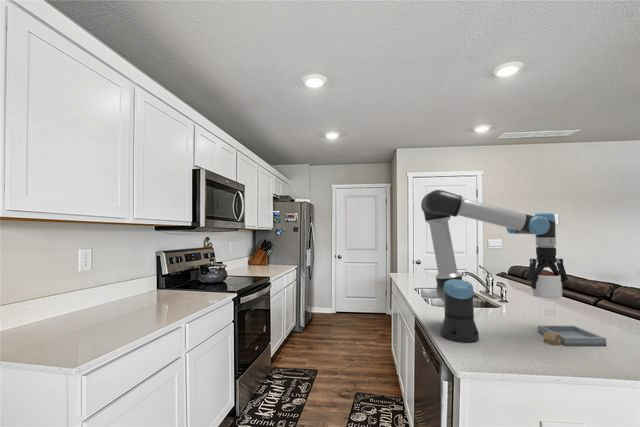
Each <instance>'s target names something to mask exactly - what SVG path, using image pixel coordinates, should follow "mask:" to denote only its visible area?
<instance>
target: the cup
mask: <svg viewBox="0 0 640 427" xmlns="http://www.w3.org/2000/svg"><path fill="white" fill-rule="evenodd" d="M536 282H538V286H539V297H538V298H544V299H553V300H555V299H559V298H561V276H560V275H559V276H555V275H554V274H553V273H550V272H541V274H540V275H538V279H537V281H536Z"/></svg>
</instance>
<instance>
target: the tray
mask: <svg viewBox="0 0 640 427" xmlns="http://www.w3.org/2000/svg"><path fill="white" fill-rule="evenodd" d="M550 331H551V332H554V333H557V334H561V344H560V345H562V346H564V347H607V338H606V337H604V336H601V335H599V334H597V333H594V332H591V331H589V330H587V329H584V328H581V327H579V326H577V325H538V326H537V333H538V332H539V334H540V333H541V335H542V334H543V335H542V336H544V332H550Z"/></svg>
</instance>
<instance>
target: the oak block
mask: <svg viewBox="0 0 640 427" xmlns="http://www.w3.org/2000/svg"><path fill="white" fill-rule="evenodd" d="M545 342H546V343H545ZM543 343H545V344H547V343H548V345H550V344H551V346H553V345H555V346H559V345H562V344H561V334H557V333H554V332H551V331H550V332H544V335H543Z"/></svg>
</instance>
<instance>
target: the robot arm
mask: <svg viewBox="0 0 640 427" xmlns="http://www.w3.org/2000/svg"><path fill="white" fill-rule="evenodd" d="M420 205H421V210H422V212H423V216H424V220H425V222H426V223H427V224H428V226H429V230H430V235H431V240H432V246H433V251H434V257H435V262H436V268H437V269H436V270H437V275H435V280H436V293H437V296H438V297H439V298H440V300H441V301H442V302H443V303H444V304H443V305H444V306H443V307H444V317H443V318H444V319H443V322H442V324H441V327H440V336H442V337H443V338H444V339H446V340H449V341H454V342H459V343H474V342H478V341H479V339H480V333H479V330H478V328H477V324H476V322H475V321H476V320H475V318H474V317H475V316H474V315H475V312H474V311H475V310H474V308H475V304H474V293H475V292H474V287H473V284H472V283H471V282H469V281H467V280H464V279H463V276H462V273H460V272H459V271H458V267H457V262H456V257H455V253H454V247H453V242H452V235H451V230H450V226H449V221H450V219H451V217H455V218H457V217H459V216H460V217H463V218H468V219H471V220H475V221H479V222H484V223H488V224H491V225H495V226H500V227H504V228H505V229H506V231H507V233H509V234H511V235H513V234H514V235H517V234H518V235H521V234H522V235H535V246H536V247H535V254H536V258H530V259H529V266H528V272H527V275H526V278H525V279H526V280H528V281H530V284H531V285H530V287H531V289H532V296H533V297H537V298H540V297H539V286H538V282H536V281H537V279H538V275H540V274H541V273H543V270H544V269H546V268H549V269H550V270H551V272H552V274H554V275H555V276H559V275H560V276H561V297H563V289H564V283H565V282H566V281H568V280H569V278H568V276H567V271H566V270H565V265H564V259H563V258H559V257H556V256H557V248H556V246H557V237H556V234H557V232H556V231H557V230H556V223H557V222H556V216H555V214H554V213H553V212H538V213H537V212H536V213H534V215H531V214H526V213H523V212H518V211H514V210H510V209H506V208H502V207H498V206H494V205H491V204H486V203H483V202H478V201H473V200H469V199H466V198H464V196H463V195H460V194H456V193H453V192H450V191H446V190H443V189H442V190H441V189H435V190H433V191H430V192H428V193H427V194H426V195H424V196H423V198H422V200H421V202H420ZM561 297H560V298H561Z"/></svg>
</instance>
